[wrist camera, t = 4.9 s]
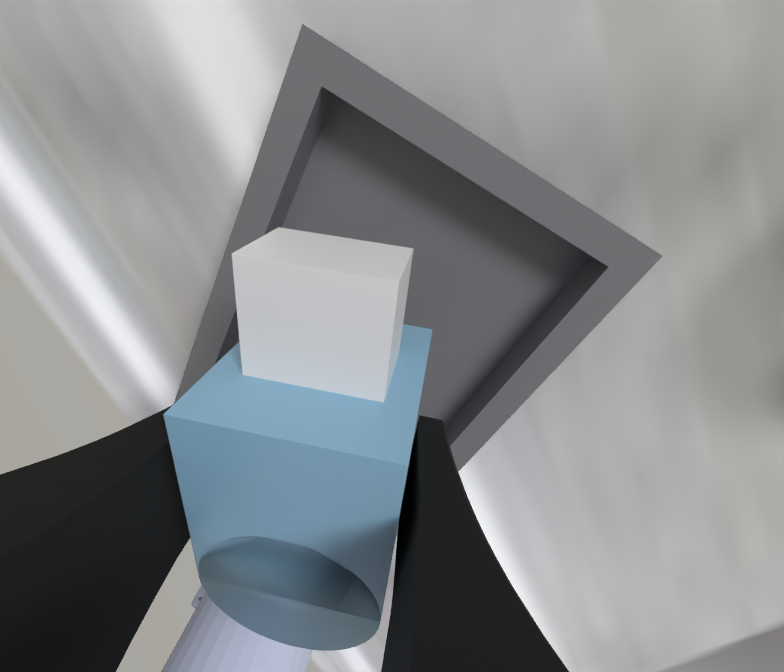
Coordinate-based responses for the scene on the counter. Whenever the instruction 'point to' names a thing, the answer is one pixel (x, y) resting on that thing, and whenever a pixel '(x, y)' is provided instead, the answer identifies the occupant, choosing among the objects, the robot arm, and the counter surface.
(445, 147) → the tray
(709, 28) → the counter surface
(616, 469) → the counter surface
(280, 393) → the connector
